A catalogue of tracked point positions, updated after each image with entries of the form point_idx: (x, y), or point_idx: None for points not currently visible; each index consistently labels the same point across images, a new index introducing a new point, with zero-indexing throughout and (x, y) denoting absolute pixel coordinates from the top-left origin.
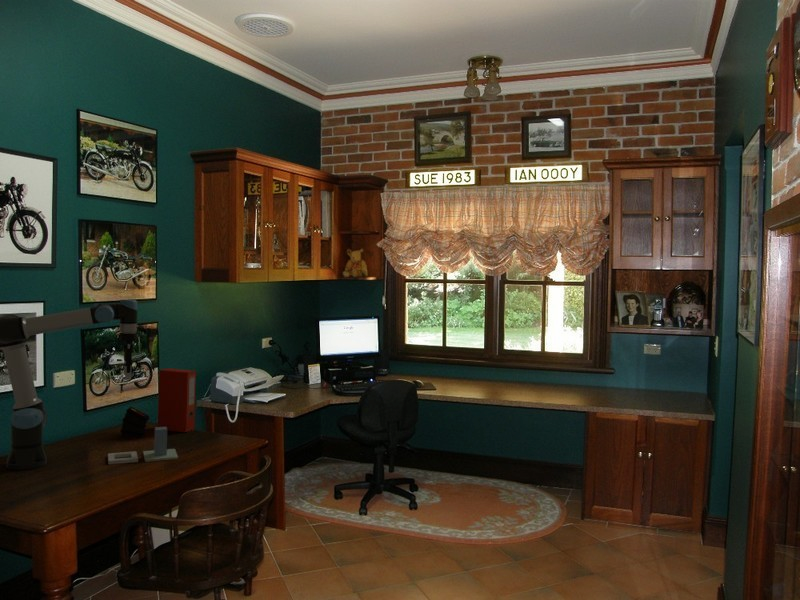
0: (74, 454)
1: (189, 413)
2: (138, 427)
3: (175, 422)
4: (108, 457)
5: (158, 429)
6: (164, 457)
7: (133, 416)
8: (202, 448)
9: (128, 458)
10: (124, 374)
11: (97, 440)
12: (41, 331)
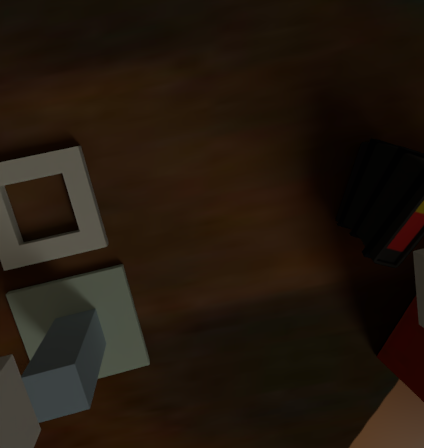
0: (121, 2)
1: None
2: (359, 215)
3: (422, 336)
4: (19, 158)
5: (32, 387)
6: (34, 352)
7: (396, 200)
8: (172, 437)
9: (5, 236)
10: (417, 260)
11: (322, 57)
12: None
